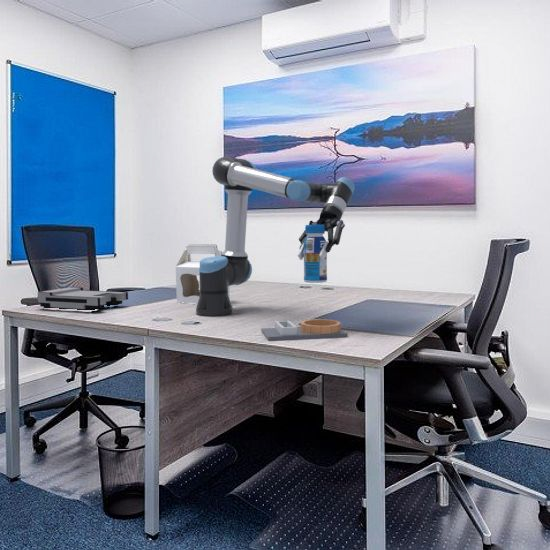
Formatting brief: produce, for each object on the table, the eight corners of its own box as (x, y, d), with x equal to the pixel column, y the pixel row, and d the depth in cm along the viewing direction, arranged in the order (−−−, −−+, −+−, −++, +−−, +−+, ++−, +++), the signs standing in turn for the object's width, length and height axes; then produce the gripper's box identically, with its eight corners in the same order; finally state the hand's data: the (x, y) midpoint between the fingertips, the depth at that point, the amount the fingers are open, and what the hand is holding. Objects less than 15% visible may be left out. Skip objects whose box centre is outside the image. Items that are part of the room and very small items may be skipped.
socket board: (268, 340, 161) (268, 329, 160) (261, 331, 174) (261, 321, 174) (347, 336, 165) (347, 325, 165) (334, 328, 179) (334, 318, 179)
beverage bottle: (300, 281, 182) (299, 225, 181) (322, 280, 185) (321, 224, 183) (308, 283, 174) (307, 224, 172) (331, 282, 177) (330, 224, 175)
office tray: (98, 314, 214) (97, 295, 213) (38, 310, 225) (37, 292, 224) (128, 307, 233) (127, 289, 233) (72, 304, 244) (71, 287, 243)
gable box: (176, 303, 244) (174, 244, 241) (192, 299, 255) (190, 243, 253) (215, 305, 234) (214, 244, 231) (230, 302, 246) (229, 243, 243)
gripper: (362, 218, 184) (340, 265, 172) (312, 219, 196) (289, 263, 184) (355, 202, 179) (333, 250, 168) (304, 205, 191) (281, 249, 180)
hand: (310, 257), depth 176 cm, fingers closed on beverage bottle, 8 cm apart
